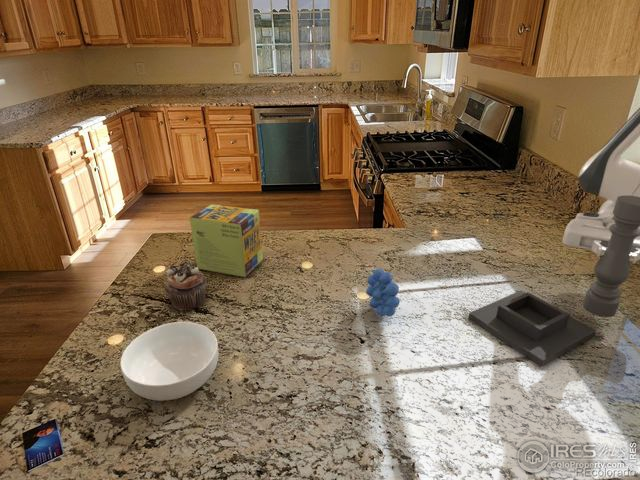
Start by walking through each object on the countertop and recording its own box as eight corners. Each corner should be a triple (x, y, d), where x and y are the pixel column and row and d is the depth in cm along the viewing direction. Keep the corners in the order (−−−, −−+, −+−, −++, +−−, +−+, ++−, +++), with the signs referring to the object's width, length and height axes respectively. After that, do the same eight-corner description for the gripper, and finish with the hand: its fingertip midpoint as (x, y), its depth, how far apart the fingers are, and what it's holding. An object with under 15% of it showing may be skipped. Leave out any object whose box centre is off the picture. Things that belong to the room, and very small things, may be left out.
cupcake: (217, 297, 104) (212, 261, 100) (185, 317, 97) (179, 279, 92) (191, 286, 109) (185, 251, 104) (159, 304, 102) (151, 267, 97)
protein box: (246, 278, 112) (241, 224, 105) (196, 269, 117) (188, 217, 110) (263, 259, 121) (259, 209, 114) (216, 252, 126) (210, 203, 119)
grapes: (411, 324, 93) (416, 277, 88) (385, 332, 91) (388, 285, 86) (383, 297, 103) (386, 254, 98) (359, 304, 101) (361, 260, 95)
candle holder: (583, 297, 96) (615, 193, 85) (615, 305, 93) (653, 198, 82) (582, 311, 91) (616, 202, 80) (616, 320, 88) (656, 208, 77)
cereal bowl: (113, 379, 80) (104, 349, 76) (193, 338, 90) (188, 310, 87) (153, 433, 69) (145, 401, 65) (239, 379, 79) (235, 349, 76)
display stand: (594, 335, 89) (600, 318, 87) (541, 366, 81) (546, 348, 79) (520, 295, 103) (523, 279, 101) (468, 318, 95) (471, 301, 93)
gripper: (669, 255, 93) (675, 284, 82) (564, 235, 103) (557, 258, 92) (679, 229, 90) (686, 255, 80) (570, 211, 100) (564, 232, 90)
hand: (616, 256), depth 86 cm, fingers closed on candle holder, 4 cm apart
